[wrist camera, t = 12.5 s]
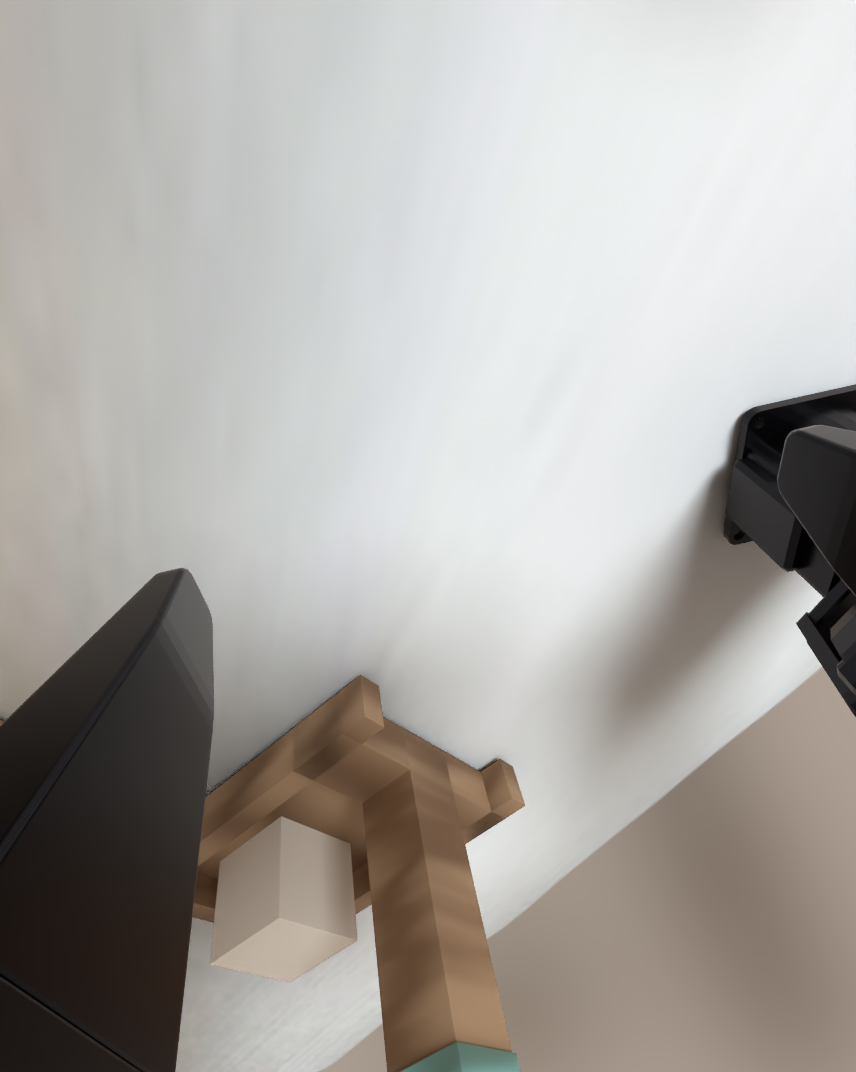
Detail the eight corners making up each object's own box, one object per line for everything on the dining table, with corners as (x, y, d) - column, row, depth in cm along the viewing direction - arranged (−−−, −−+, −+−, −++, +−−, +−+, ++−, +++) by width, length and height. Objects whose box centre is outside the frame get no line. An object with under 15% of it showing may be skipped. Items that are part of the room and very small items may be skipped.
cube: (281, 816, 32) (279, 917, 28) (350, 843, 35) (357, 940, 31) (219, 861, 34) (209, 964, 30) (290, 884, 36) (289, 982, 32)
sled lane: (360, 675, 29) (402, 1057, 17) (512, 766, 35) (618, 1091, 23) (135, 852, 33) (51, 1244, 22) (304, 905, 40) (308, 1231, 28)
